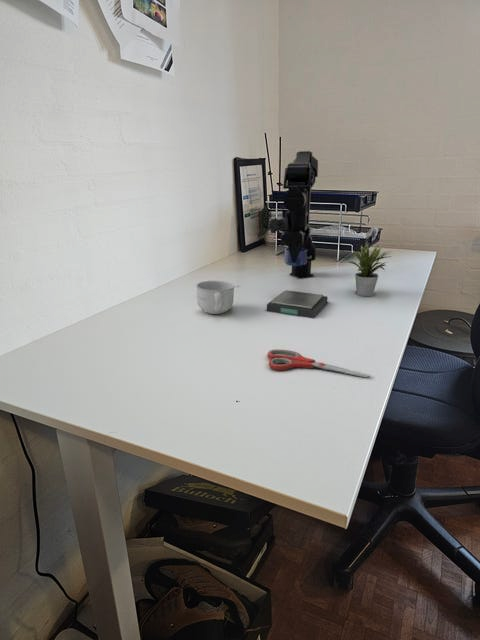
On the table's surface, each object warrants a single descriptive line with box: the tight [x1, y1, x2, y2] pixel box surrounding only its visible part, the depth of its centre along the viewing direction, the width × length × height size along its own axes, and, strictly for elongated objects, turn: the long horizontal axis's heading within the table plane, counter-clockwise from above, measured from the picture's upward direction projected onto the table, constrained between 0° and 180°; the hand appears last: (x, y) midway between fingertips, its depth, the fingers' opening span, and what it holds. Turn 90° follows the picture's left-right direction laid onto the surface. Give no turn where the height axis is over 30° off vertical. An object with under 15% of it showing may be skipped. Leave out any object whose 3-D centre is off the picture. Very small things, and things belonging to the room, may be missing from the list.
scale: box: [266, 291, 329, 319], centre depth 118 cm, size 14×14×2 cm
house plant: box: [347, 243, 393, 297], centre depth 125 cm, size 14×14×16 cm
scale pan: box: [270, 289, 325, 309], centre depth 118 cm, size 12×12×1 cm
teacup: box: [195, 280, 235, 315], centre depth 114 cm, size 14×11×8 cm
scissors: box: [266, 348, 370, 378], centre depth 84 cm, size 8×21×2 cm, turn 78°
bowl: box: [283, 247, 307, 267], centre depth 124 cm, size 7×7×4 cm
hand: (295, 260), depth 124 cm, fingers closed on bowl, 7 cm apart
